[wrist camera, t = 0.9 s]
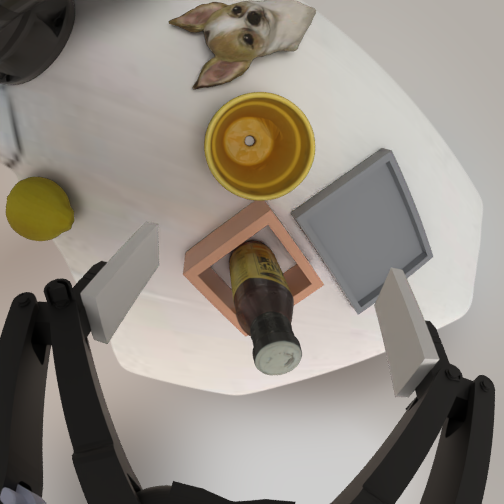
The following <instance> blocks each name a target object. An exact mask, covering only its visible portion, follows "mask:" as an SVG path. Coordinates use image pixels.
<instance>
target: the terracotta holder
mask: <svg viewBox="0 0 504 504" xmlns="http://www.w3.org/2000/svg"><path fill="white" fill-rule="evenodd" d="M267 225H269V226H270V228H271V229H272V230H273V232H274V233H275V234H276V236H277V237H278V238H279V240H280V241H281V242H282V244H283V245H284V247H285V248H286V249H287V251H288V252H289V253H290V255H291V256H292V257H293V259H294V260H295V261H296V263H297V264H296V265H295V266H294V267H292V268H291V269H289V270H288V271H286V272H285V273H284V274H283V275H284V277H285V279H286V282H287V284H288V287H289V288H290V291H291V293H292V296H293V299H294V305H295V304H297V303H298V302H300V301H301V300H303V299H304V298H306V297H307V296H309V295H310V294H312V293H313V292H314V291H316V290H317V289H319V288H320V287H322V286H323V285H324V284H323V282H322V281H321V279H320V278H319V276H318V275H317V273H316V272H315V270H314V269H313V267H312V266H311V264H310V263H309V262H308V260H307V259H306V257H305V256H304V254H303V253H302V252H301V250H300V249H299V247H298V246H297V245H296V243H295V242H294V240H293V239H292V238H291V236H290V235H289V233H288V232H287V231H286V229H285V228H284V226H283V225H282V224H281V222H280V221H279V219H278V218H277V217H276V215H275V214H274V213H273V211H272V210H271V208H270V207H269V206H268V204H267V203H266V202H265V200H263V201H257V200H255V201H254V202H253V203H251V204H250V205H249V206H247V207H246V208H244V209H243V210H242V211H240V212H239V213H238V214H236V215H235V216H234V217H232V218H231V219H229V220H228V221H227V222H225V223H224V224H223V225H221V226H220V227H219V228H217V229H216V230H215V231H213V232H212V233H211V234H209V235H208V236H207V237H205V238H204V239H203V240H201V241H200V242H199V243H197V244H196V245H195V246H194V247H192V248H191V249H190V250H188V251H187V252H186V254H185V262H184V270H183V275H184V276H185V277H186V278H187V279H188V280H189V281H190V282H191V283H192V284H193V285H194V286H195V287H196V288H197V289H198V290H199V291H200V292H201V293H202V294H203V295H204V296H205V297H206V298H207V299H208V300H209V301H210V302H211V303H212V304H213V305H214V306H215V307H216V308H217V309H218V310H219V311H220V312H221V313H222V314H223V315H224V316H225V317H226V318H227V319H228V320H229V321H230V322H231V323H232V324H233V325H234V326H235V327H236V328H237V329H238V330H239V331H240V332H241V333H242V334H244V335H245V336H248V335H247V333H245V332H244V331H243V330H242V328H241V326H240V325H239V323H238V320H237V317H236V310H235V307H234V302H233V294H232V290H231V289H230V288H229V287H228V286H227V285H226V283H225V282H224V281H223V280H222V279H221V278H220V277H219V276H218V275H217V274H216V273H215V272H214V270H213V269H212V268H211V267H210V266H211V265H213V264H214V263H215V262H217V261H218V260H220V259H221V258H222V257H224V256H225V255H226V254H228V253H229V252H231V251H232V250H233V249H235V248H236V247H237V246H239V245H240V244H242V243H243V242H244V241H246V240H247V239H249V238H250V237H251V236H253V235H254V234H255V233H257V232H258V231H260V230H261V229H262V228H264V227H265V226H267Z"/></svg>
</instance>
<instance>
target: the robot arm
mask: <svg viewBox="0 0 504 504" xmlns="http://www.w3.org/2000/svg"><path fill="white" fill-rule="evenodd" d="M74 17H75V8H74V3H73V0H0V84H10V85H16V84H21V83H25V82H27V81H29V80H31V79H33V78H35V77H36V76H38V75H39V74H41V73H42V72H43V71H44V70H45V69H47V68H48V67H49V66H50V65H51V64H52V62H53V61H54V60H55V59H56V58H57V56H58V55H59V54H60V52H61V51H62V49H63V47H64V46H65V44H66V42H67V40H68V38H69V36H70V33H71V30H72V27H73V23H74ZM158 266H159V246H158V224H155V223H149V222H145V223H144V224H143V225H142V226H141V227H140V228H139V229H138V230H137V231H136V232H135V233H134V235H133V236H132V237H131V238H130V239H129V240H128V241H127V242H126V243H125V244H124V245H123V246H122V247H121V248H120V249H119V250H118V251H117V253H116V254H115V255H114V256H113V257H112V258H111V259H110V260H109V261H108V262H103V261H101V262H99V263H97V264H95V265H93V266H92V267H91V268H90V269H89V271H88V272H87V273H86V274H85V275H84V276H83V278H81V279H80V280H79V281H78V283H77V284H76V285H75V286H74V287H73V288H72V285H71V283H70V281H68V280H66V279H55V280H53V281H51V282H49V283H48V284H47V285H46V286H45V288H44V294H45V297H46V300H47V302H37V300H36V297H35V295H34V294H33V293H30V292H25V293H22V294H19V295H18V296H17V297H15V298H14V300H13V302H12V304H11V307H10V310H9V312H8V315H7V318H6V321H5V324H4V328H3V330H2V334H1V337H0V504H46V502H45V501H44V500H43V499H42V490H43V461H42V460H43V458H42V437H43V412H44V398H45V387H46V378H47V369H48V362H49V355H50V349H51V345H52V349H53V356H54V363H55V370H56V376H57V382H58V388H59V392H60V397H61V403H62V407H63V411H64V416H65V420H66V424H67V428H68V432H69V435H70V439H71V442H72V446H73V450H74V453H73V455H72V460H73V464H74V467H75V470H76V473H77V476H78V479H79V482H80V485H81V487H82V490H83V492H84V495H85V498H86V500H87V503H88V504H295V502H292V501H279V500H269V499H263V500H252V501H238V502H233V501H229V500H227V499H225V498H223V497H220V496H218V495H216V494H214V493H211V492H209V491H207V490H205V489H203V488H198V487H194V486H190V485H186V484H182V483H178V482H175V481H173V483H172V486H168V485H165V486H155V487H150V488H146V489H144V490H143V489H142V487H141V485H140V483H139V481H138V479H137V477H136V475H135V474H134V472H133V470H132V468H131V466H130V464H129V462H128V459H127V457H126V455H125V452H124V450H123V448H122V445H121V443H120V440H119V438H118V435H117V433H116V430H115V428H114V425H113V422H112V419H111V416H110V413H109V411H108V408H107V405H106V402H105V399H104V396H103V393H102V389H101V386H100V383H99V379H98V376H97V372H96V369H95V365H94V361H93V358H92V354H91V350H90V346H89V341H88V338H87V336H88V334H89V333H90V332H92V335H93V338H94V340H97V341H100V342H102V343H106V344H108V343H109V341H110V339H111V338H112V336H113V335H114V333H115V331H116V330H117V328H118V327H119V325H120V323H121V322H122V320H123V319H124V317H125V316H126V314H127V313H128V311H129V309H130V308H131V306H132V305H133V303H134V302H135V300H136V299H137V297H138V296H139V294H140V293H141V291H142V290H143V288H144V287H145V285H146V284H147V282H148V281H149V279H150V278H151V276H152V275H153V273H154V272H155V271H156V269H157V268H158ZM374 306H375V310H376V313H377V317H378V321H379V325H380V329H381V333H382V337H383V342H384V346H385V350H386V354H387V359H388V363H389V368H390V372H391V378H392V383H393V388H394V394H395V397H409V396H410V395H411V394H412V393H413V392H414V390H415V391H416V395H417V397H416V398H415V399H414V400H413V401H412V402H411V403H410V404H409V406H408V407H407V408H406V410H407V411H406V412H405V414H404V415H403V417H402V418H401V420H400V421H399V422H398V424H397V425H396V427H395V428H394V430H393V431H392V433H391V434H390V435H389V436H388V438H387V439H386V440H385V442H384V443H383V444H382V446H381V447H380V448H379V450H378V451H377V452H376V453H375V455H374V456H373V457H372V458H371V460H370V461H369V462H368V463H367V465H366V466H365V467H364V468H363V469H362V470H361V471H360V473H359V474H358V475H357V476H356V477H355V478H354V480H353V481H352V482H351V483H350V484H349V485H348V486H347V487H346V488H345V489H344V491H342V492H341V494H340V495H339V496H338V497H337V498H336V499H335V500H334V501H333V502H332V503H330V504H395V503H396V501H397V500H398V498H399V497H400V496H401V494H402V493H403V491H404V490H405V488H406V487H407V486H408V484H409V482H410V481H411V480H412V478H413V476H414V475H415V473H416V472H417V470H418V468H419V467H420V465H421V464H422V462H423V460H424V459H425V457H426V455H427V454H428V452H429V450H430V448H431V447H432V445H433V443H434V441H435V439H436V437H437V435H438V434H439V432H440V430H441V428H442V431H441V435H440V439H439V443H438V447H437V451H436V455H435V459H434V462H433V466H432V469H431V472H430V476H429V479H428V482H427V485H426V488H425V491H424V494H423V496H422V499H421V502H420V504H482V499H483V495H484V490H485V485H486V480H487V475H488V469H489V462H490V455H491V447H492V438H493V426H494V408H495V388H494V384H493V382H492V381H491V380H490V379H489V378H488V377H486V376H484V375H479V376H478V377H477V378H476V379H475V380H474V381H471V380H468V379H465V378H463V377H462V373H461V372H460V370H459V369H458V368H457V367H456V366H454V365H452V364H450V363H449V361H448V358H447V355H446V353H445V350H444V347H443V345H442V344H441V340H440V338H439V335H438V332H437V330H436V328H435V327H434V326H433V324H432V323H431V322H430V321H425V320H424V318H423V315H422V313H421V310H420V308H419V305H418V303H417V301H416V298H415V296H414V294H413V292H412V289H411V287H410V285H409V283H408V280H407V278H406V276H405V274H404V272H403V270H401V269H396V268H391V269H390V271H389V273H388V276H387V278H386V280H385V283H384V285H383V287H382V289H381V292H380V294H379V296H378V298H377V300H376V303H375V305H374Z"/></svg>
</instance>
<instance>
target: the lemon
mask: <svg viewBox="0 0 504 504" xmlns="http://www.w3.org/2000/svg"><path fill="white" fill-rule="evenodd" d="M6 217H7V220H8V222H9V224H10V226H11V227H12V228H13V230H14V231H15V232H17V233H18V234H19V235H21V236H23V237H25V238H27V239H30V240H35V241H46V240H51V239H53V238H56V237H57V236H59V235H60V234H61V233H63V232H65V231H68V230H70V229H71V227H72V224H73V222H74V211H73V209H72V208H71V207H70V202H69V199H68V197H67V195H66V193H65V192H64V190H63V189H62V188H61V187H60V186H59V185H58V184H57V183H55V182H54V181H52V180H49V179H46V178H43V177H30V178H26V179H24V180H21V181H19V182H18V183H17V184H16V185H15V186H14V188H13V189H12V190H11V192H10V194H9V195H8V196H7V204H6Z"/></svg>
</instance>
